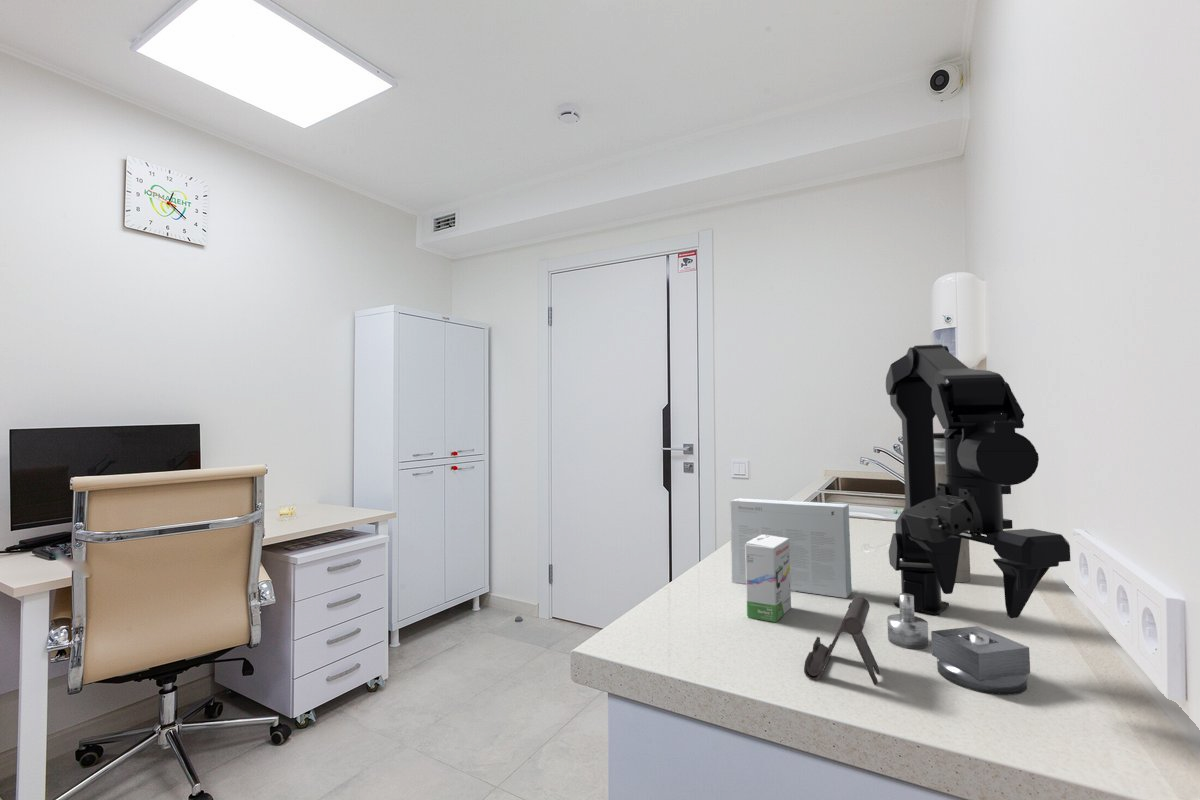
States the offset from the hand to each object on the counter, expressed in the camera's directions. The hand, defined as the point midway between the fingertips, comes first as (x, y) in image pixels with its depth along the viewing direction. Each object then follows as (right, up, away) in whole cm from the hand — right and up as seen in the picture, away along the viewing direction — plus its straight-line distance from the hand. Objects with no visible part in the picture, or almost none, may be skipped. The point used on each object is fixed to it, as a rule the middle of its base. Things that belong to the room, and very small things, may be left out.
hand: (978, 604), depth 69 cm
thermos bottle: (+22, -10, +42) cm, 48 cm away
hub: (0, -9, 0) cm, 9 cm away
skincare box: (-10, -10, +37) cm, 40 cm away
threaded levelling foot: (-3, -9, +11) cm, 14 cm away
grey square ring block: (0, -7, 0) cm, 7 cm away
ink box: (-18, -10, +24) cm, 32 cm away
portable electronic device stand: (-15, -9, +2) cm, 18 cm away
